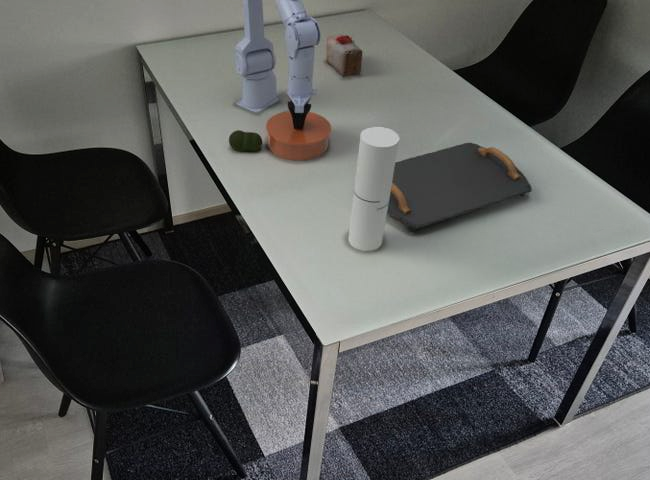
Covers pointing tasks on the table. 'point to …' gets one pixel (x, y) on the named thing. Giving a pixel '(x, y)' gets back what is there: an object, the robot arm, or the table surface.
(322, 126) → the lid
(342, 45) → the food item
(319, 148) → the pot
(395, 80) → the table surface
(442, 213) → the serving tray
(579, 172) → the table surface
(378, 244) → the cylindrical container
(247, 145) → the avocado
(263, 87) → the robot arm
